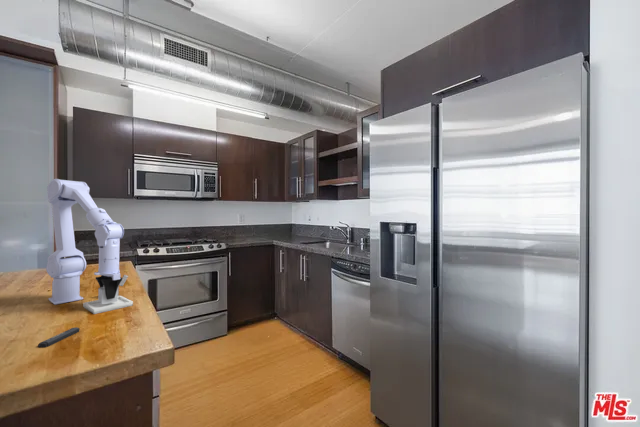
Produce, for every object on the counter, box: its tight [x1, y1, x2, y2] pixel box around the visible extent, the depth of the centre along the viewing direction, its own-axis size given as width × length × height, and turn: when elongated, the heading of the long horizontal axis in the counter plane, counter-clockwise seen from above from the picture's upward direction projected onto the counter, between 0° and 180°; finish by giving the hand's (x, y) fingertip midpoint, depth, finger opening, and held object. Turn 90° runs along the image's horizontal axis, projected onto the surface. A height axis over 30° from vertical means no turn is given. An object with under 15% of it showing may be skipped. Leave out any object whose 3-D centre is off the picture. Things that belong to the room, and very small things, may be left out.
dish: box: [82, 295, 134, 315], centre depth 97 cm, size 11×11×1 cm
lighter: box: [118, 274, 129, 296], centre depth 108 cm, size 7×2×8 cm, turn 130°
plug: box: [97, 285, 118, 304], centre depth 97 cm, size 4×4×6 cm
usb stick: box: [37, 327, 80, 348], centre depth 72 cm, size 10×3×2 cm, turn 179°
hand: (108, 297), depth 97 cm, fingers closed on plug, 3 cm apart
